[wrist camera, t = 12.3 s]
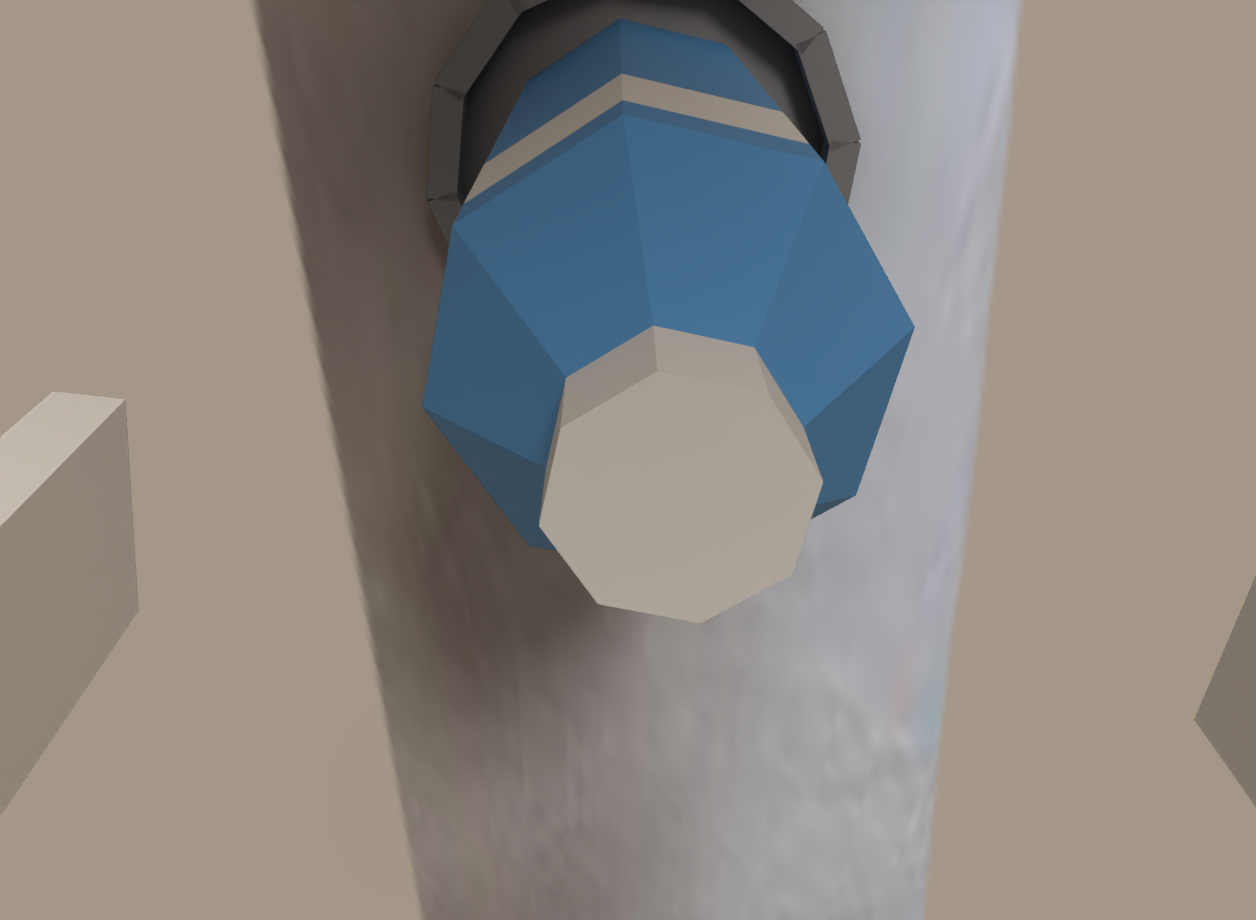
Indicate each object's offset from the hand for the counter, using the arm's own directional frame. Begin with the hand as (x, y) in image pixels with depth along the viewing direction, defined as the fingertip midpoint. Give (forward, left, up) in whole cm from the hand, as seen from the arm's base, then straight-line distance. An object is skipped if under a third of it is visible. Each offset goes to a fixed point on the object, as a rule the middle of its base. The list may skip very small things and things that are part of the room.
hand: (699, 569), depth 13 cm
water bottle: (+1, 0, -29) cm, 28 cm away
